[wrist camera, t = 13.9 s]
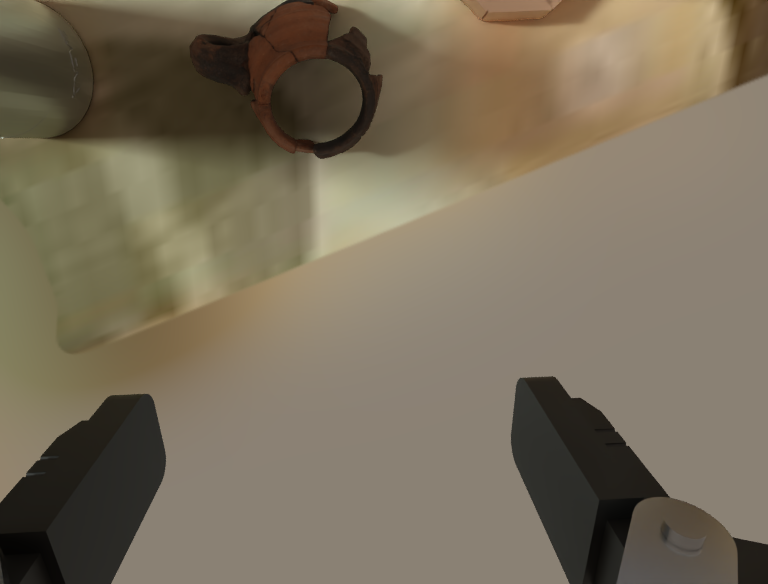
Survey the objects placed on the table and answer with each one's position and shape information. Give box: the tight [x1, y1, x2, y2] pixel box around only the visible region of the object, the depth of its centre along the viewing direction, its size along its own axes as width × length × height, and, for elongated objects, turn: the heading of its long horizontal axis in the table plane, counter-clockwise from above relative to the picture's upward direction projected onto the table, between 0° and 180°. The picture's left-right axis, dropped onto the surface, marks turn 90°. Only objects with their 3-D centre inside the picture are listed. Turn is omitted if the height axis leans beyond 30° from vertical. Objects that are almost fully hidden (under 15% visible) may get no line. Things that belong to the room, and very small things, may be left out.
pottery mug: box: [190, 0, 383, 159], centre depth 32 cm, size 12×10×8 cm
